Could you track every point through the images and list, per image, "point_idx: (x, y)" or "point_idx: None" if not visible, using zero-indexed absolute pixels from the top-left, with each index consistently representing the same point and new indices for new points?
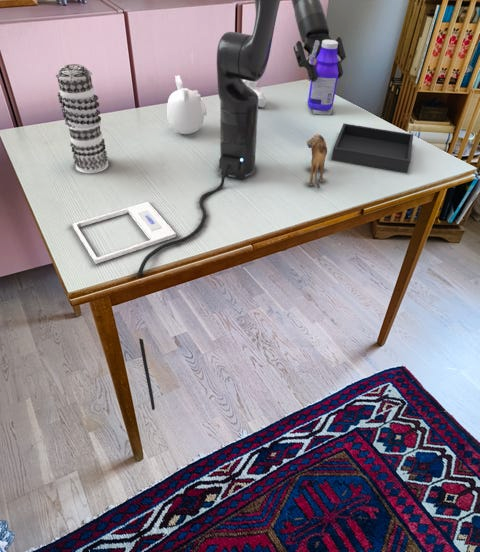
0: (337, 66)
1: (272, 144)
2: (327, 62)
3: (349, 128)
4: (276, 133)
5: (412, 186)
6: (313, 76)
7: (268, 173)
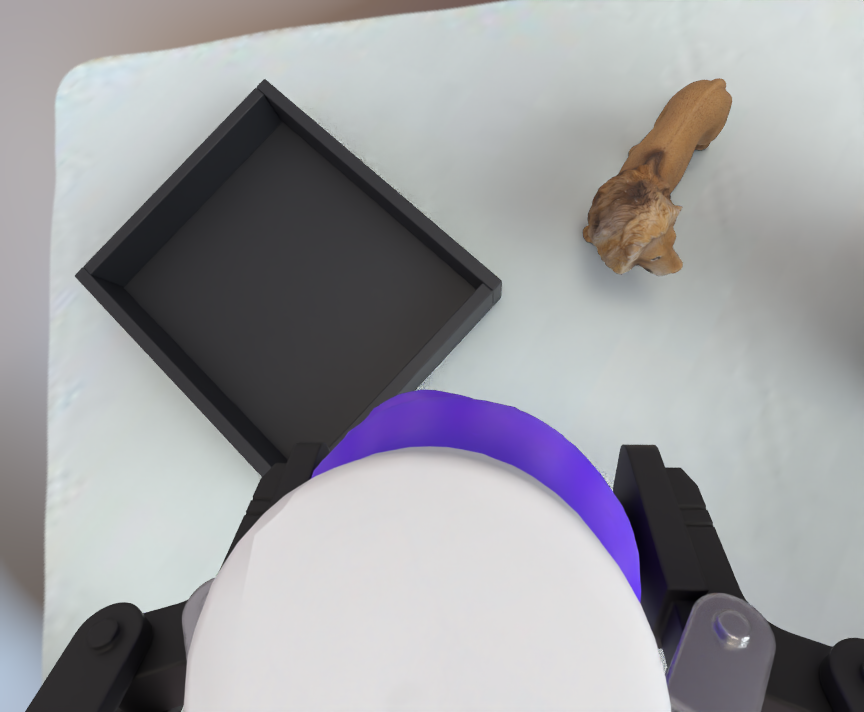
0: None
1: None
2: (544, 423)
3: None
4: None
5: (332, 32)
6: (670, 472)
7: (838, 284)
